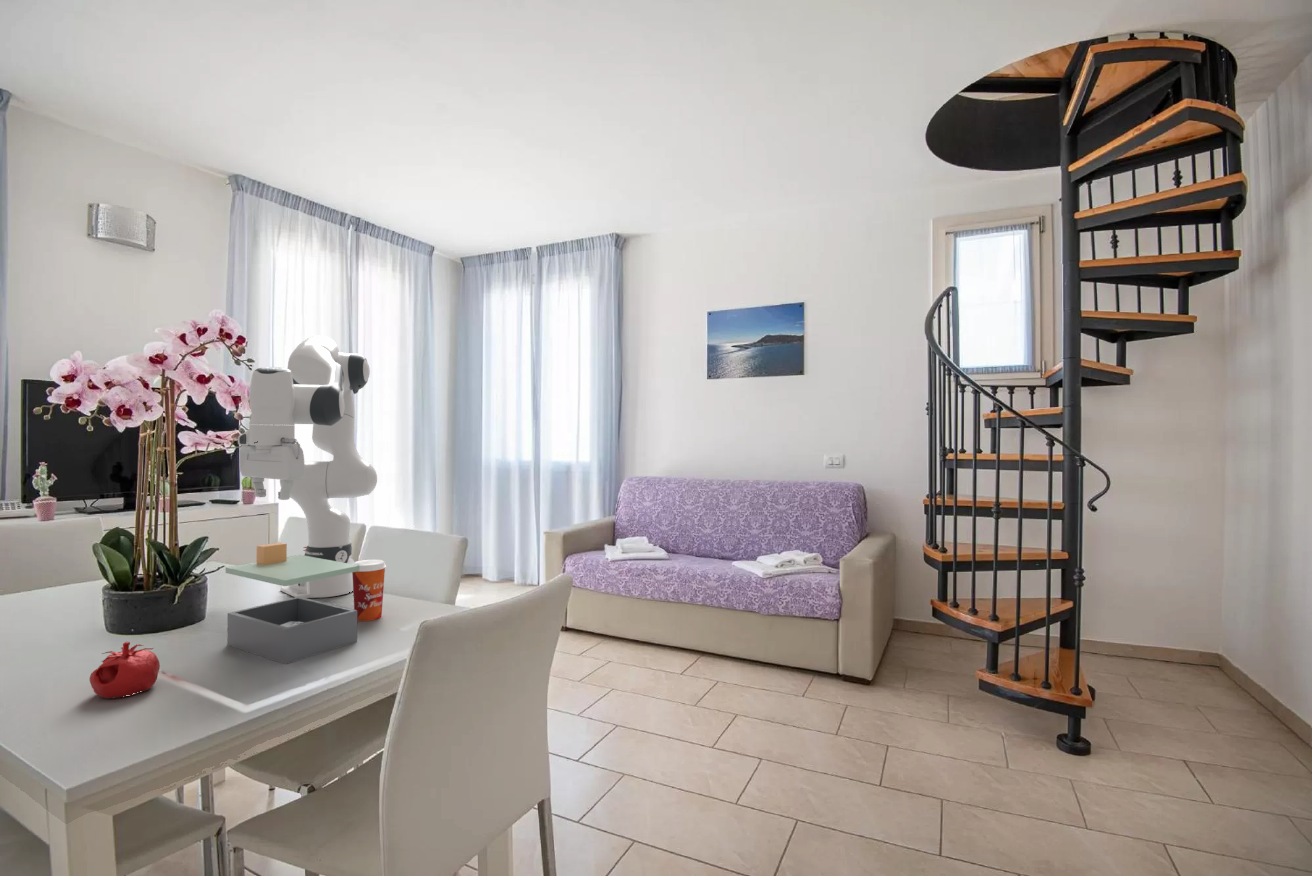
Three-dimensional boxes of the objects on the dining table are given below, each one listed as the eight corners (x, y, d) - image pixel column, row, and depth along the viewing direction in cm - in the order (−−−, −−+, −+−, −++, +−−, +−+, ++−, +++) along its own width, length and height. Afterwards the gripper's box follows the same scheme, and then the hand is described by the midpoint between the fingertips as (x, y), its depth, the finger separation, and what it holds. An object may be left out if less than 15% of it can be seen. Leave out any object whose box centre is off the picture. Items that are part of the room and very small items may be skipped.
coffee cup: (360, 628, 152) (361, 567, 152) (344, 621, 157) (344, 562, 157) (392, 620, 159) (393, 561, 159) (376, 614, 164) (376, 557, 164)
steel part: (277, 639, 140) (277, 626, 140) (290, 634, 144) (290, 621, 144) (292, 640, 140) (292, 627, 140) (305, 635, 144) (305, 622, 144)
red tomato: (152, 676, 122) (153, 629, 122) (166, 690, 115) (167, 640, 115) (84, 692, 114) (84, 642, 114) (95, 708, 108) (95, 655, 108)
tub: (227, 649, 137) (227, 613, 137) (299, 629, 151) (299, 596, 151) (285, 669, 126) (285, 629, 126) (357, 645, 140) (357, 610, 140)
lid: (225, 572, 137) (225, 549, 137) (300, 559, 151) (300, 538, 151) (284, 586, 125) (285, 560, 125) (359, 570, 140) (359, 547, 140)
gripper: (312, 438, 140) (312, 499, 140) (261, 437, 150) (261, 494, 150) (284, 438, 134) (284, 502, 134) (233, 437, 144) (233, 496, 144)
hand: (272, 498), depth 142 cm, fingers open, 8 cm apart
